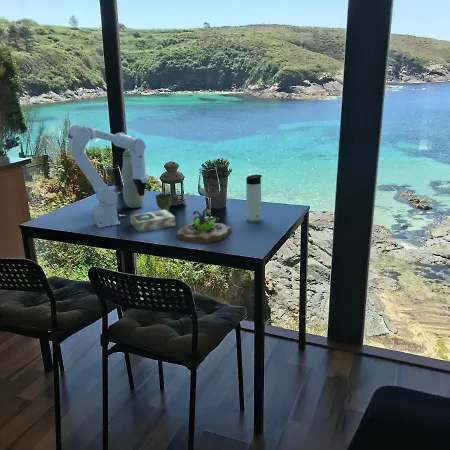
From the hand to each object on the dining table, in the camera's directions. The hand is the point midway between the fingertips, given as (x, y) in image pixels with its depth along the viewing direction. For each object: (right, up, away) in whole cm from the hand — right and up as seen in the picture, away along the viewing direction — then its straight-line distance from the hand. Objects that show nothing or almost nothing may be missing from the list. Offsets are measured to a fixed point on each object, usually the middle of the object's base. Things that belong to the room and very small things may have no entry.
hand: (141, 195), depth 217 cm
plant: (+29, -18, -22) cm, 40 cm away
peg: (+3, -13, -10) cm, 17 cm away
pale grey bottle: (-6, -5, +17) cm, 19 cm away
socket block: (+7, -13, -9) cm, 17 cm away
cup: (+9, -7, +9) cm, 15 cm away
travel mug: (+50, -11, -8) cm, 52 cm away
